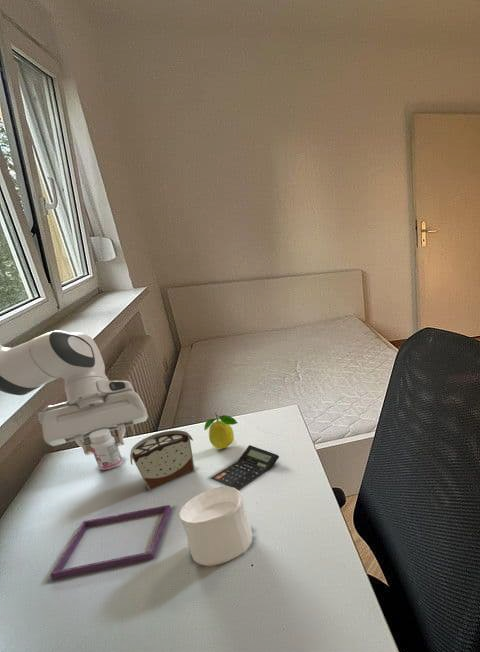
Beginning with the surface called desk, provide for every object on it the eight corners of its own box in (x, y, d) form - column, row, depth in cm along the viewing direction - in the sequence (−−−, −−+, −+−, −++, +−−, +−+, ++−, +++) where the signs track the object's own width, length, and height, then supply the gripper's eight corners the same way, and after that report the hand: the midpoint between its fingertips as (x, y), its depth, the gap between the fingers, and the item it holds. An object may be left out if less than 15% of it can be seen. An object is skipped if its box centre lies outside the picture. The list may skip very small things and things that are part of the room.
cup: (265, 538, 79) (254, 493, 75) (220, 579, 71) (206, 531, 67) (228, 522, 83) (216, 480, 79) (181, 560, 75) (166, 514, 71)
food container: (191, 460, 104) (180, 423, 100) (201, 470, 100) (191, 432, 96) (134, 484, 97) (120, 445, 93) (143, 496, 92) (128, 456, 88)
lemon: (243, 447, 109) (234, 411, 105) (221, 458, 105) (211, 420, 101) (229, 439, 113) (221, 404, 109) (207, 449, 109) (197, 413, 105)
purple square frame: (54, 583, 72) (49, 574, 71) (86, 529, 84) (83, 521, 83) (154, 562, 75) (151, 553, 74) (172, 512, 87) (169, 504, 86)
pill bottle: (93, 469, 101) (81, 437, 98) (109, 458, 106) (98, 427, 102) (112, 470, 101) (100, 438, 97) (127, 459, 105) (116, 428, 102)
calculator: (211, 481, 96) (207, 469, 95) (253, 454, 105) (250, 444, 104) (239, 493, 91) (236, 481, 90) (281, 465, 100) (278, 453, 99)
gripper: (31, 403, 97) (44, 461, 93) (136, 379, 107) (152, 430, 103) (40, 414, 102) (53, 469, 98) (140, 390, 112) (155, 439, 109)
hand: (105, 449), depth 101 cm, fingers closed on pill bottle, 5 cm apart
